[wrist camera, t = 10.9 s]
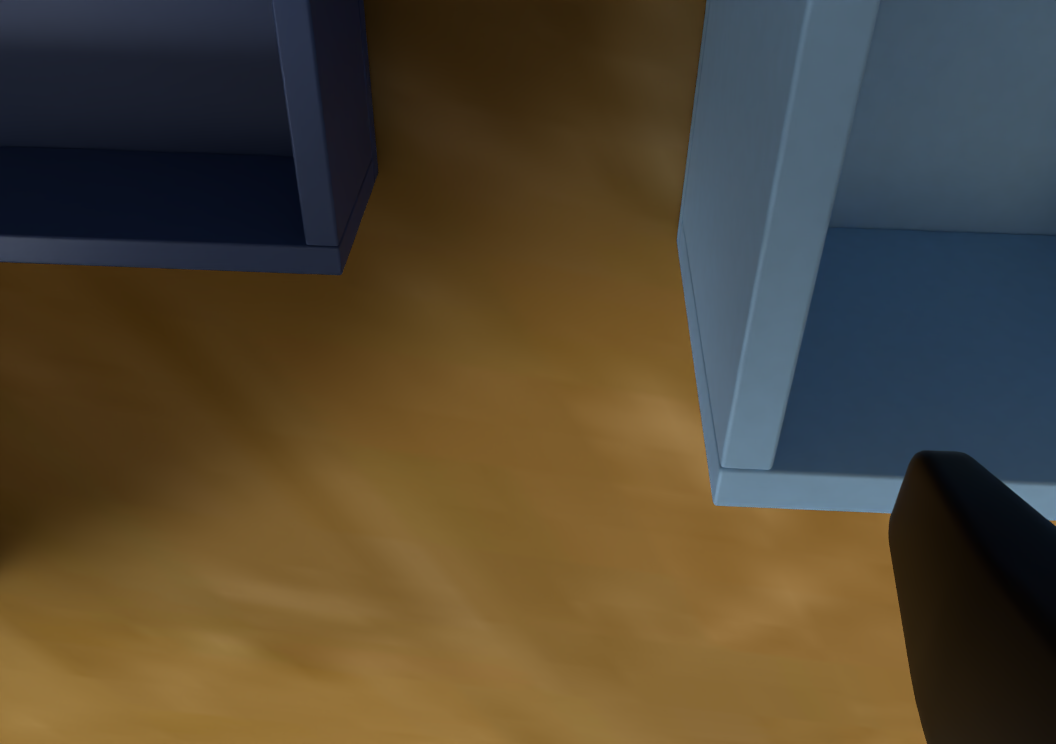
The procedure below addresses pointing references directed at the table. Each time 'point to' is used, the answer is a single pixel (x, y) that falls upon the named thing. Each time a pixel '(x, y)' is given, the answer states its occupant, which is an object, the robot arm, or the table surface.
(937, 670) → the robot arm
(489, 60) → the table surface
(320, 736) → the table surface
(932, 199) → the top bin
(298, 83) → the bottom bin
